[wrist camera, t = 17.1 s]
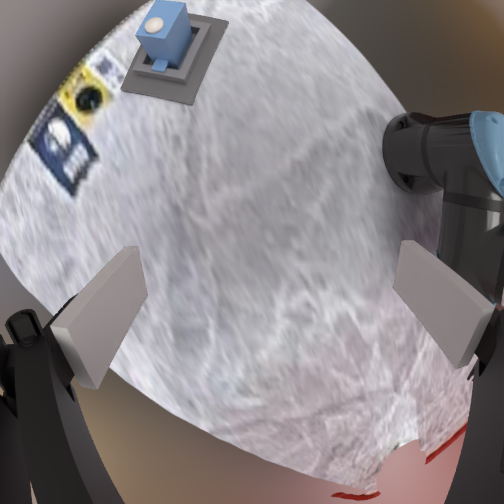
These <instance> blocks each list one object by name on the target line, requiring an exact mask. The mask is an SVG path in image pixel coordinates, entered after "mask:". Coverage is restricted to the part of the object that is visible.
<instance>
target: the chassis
mask: <svg viewBox="0 0 504 504" xmlns="http://www.w3.org/2000/svg"><path fill="white" fill-rule="evenodd" d="M188 17H189V20H190V27H191V31H192V36H193V40H192V42H191V44H190V46H189V48H188V50H187V52H186V54H185V57H184V59H183V61H182V63H181V65H180V67H179V70H178V69H173V68H168V67H167V69H166V71H165V73H163V72H158V71H152V70H151V69H152V66H153V64H154V63H153V62H152V60H151V59H150V57H149V56H148V54H147V52H146V51H145V49H144V48H143V46H142V45H140V47H139V49H138V51H137V53H136V55H135V57H134V59H133V62H132V64H131V66H130V68H129V70H128V72H127V75H126V77H125V79H124V82H123V84H122V86H121V90H122V91H127V92H133V93H138V94H143V95H149V96H153V97H158V98H163V99H167V100H172V101H176V102H180V103H184V104H188V105H192V104H193V102H194V99H195V97H196V94H197V92H198V89H199V87H200V84H201V82H202V80H203V77H204V75H205V73H206V70H207V68H208V66H209V64H210V61H211V59H212V57H213V55H214V53H215V51H216V49H217V46H218V44H219V42H220V40H221V38H222V36H223V34H224V32H225V30H226V28H227V26H228V24H229V21H225V20H221V19H216V18H212V17H207V16H201V15H196V14H190V13H188Z"/></svg>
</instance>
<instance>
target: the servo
mask: <svg viewBox="0 0 504 504" xmlns="http://www.w3.org/2000/svg"><path fill="white" fill-rule="evenodd" d="M135 36H136V37H137V39H138V40H139V42H140V43H141V45H142V46H143V48H144V49H145V51H146V52H147V54H148V56H149V57H150V59H151V60H152V62H153V63H154V64H153V66H152V69H151V70H152V71H158V72H163V73H165V71H166V69H167V67H168V68H173V69H178V70H179V67H180V65H181V63H182V61H183V59H184V57H185V54H186V52H187V50H188V48H189V46H190V44H191V42H192V40H193V36H192V31H191V27H190V20H189V17H188V12H187V8H186V3H182V2H174V1H165V0H156V1H155V3H154V4H153V6H152V7H151V9H150V11H149V12H148V14H147V15H146V17H145V19H144V21H143V22H142V24H141V26H140V27H139V29H138V31H137V33H136V35H135Z"/></svg>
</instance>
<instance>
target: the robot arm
mask: <svg viewBox="0 0 504 504" xmlns="http://www.w3.org/2000/svg"><path fill="white" fill-rule="evenodd" d="M383 155H384V160H385V164H386V167H387V169H388V172H389V174H390V176H391V177H392V179H393V180H394V181H395V183H396V184H397V185H398V186H399V187H400V188H402V189H403V190H405V191H407V192H409V193H413V194H418V195H427V194H431V193H434V192H437V191H440V190H442V189H444V195H443V208H442V219H441V227H440V235H439V242H438V249H437V251H436V257H435V256H434V255H433V254H431V253H430V252H429V251H427V250H426V249H425V248H423V247H422V246H421V245H419V244H418V243H417V242H415V241H414V240H401V246H400V252H399V258H398V263H397V268H396V273H395V278H394V283H393V287H392V288H393V289H394V290H395V291H396V292H397V294H398V295H399V296H400V297H401V298H402V300H403V301H404V302H405V303H406V304H407V306H408V307H409V308H410V309H411V311H412V312H413V313H414V314H415V316H416V317H417V318H418V319H419V321H420V322H421V323H422V325H423V326H424V327H425V328H426V330H427V331H428V332H429V334H430V335H431V336H432V338H433V339H434V340H435V342H436V343H437V344H438V346H439V347H440V348H441V350H442V351H443V352H444V354H445V355H446V357H447V358H448V359H449V361H450V362H451V364H452V365H453V367H454V368H455V369H458V368H461V367H464V366H467V365H468V364H469V363H470V361H471V359H472V357H473V355H474V353H475V354H476V355H477V357H478V360H477V361H476V363H475V365H474V367H473V369H472V370H471V372H470V374H469V376H468V378H467V380H469V379H470V378H471V376H472V375H474V378H473V380H472V381H473V390H472V398H471V405H470V412H469V418H468V423H467V428H466V434H465V438H464V442H463V447H462V450H461V455H460V458H459V462H458V465H457V469H456V472H455V475H454V478H453V481H452V484H451V487H450V490H449V492H448V495H447V498H446V500H445V503H444V504H504V309H502V310H501V311H499V310H498V309H496V308H495V305H496V304H499V305H501V306H504V115H502V114H501V113H498V112H482V111H474V112H471V113H464V114H457V115H451V116H445V117H438V118H436V117H432V116H429V115H425V114H422V113H418V112H410V113H405V114H401V115H399V116H397V117H395V118H394V119H393V120H392V121H391V122H390V123H389V125H388V127H387V129H386V131H385V135H384V139H383ZM147 296H148V293H147V288H146V284H145V279H144V274H143V269H142V264H141V258H140V253H139V247H138V246H132V247H124V248H123V249H122V250H121V251H120V252H119V253H118V254H117V255H116V256H115V257H114V258H113V259H112V260H111V261H110V262H109V263H108V264H107V265H106V266H105V267H104V268H103V269H102V270H101V271H100V272H99V273H98V274H97V275H96V276H95V277H94V278H93V279H92V280H91V281H90V282H89V283H88V284H87V285H86V286H85V287H84V288H83V289H82V290H81V292H80V293H78V294H77V295H75V296H73V297H72V298H70V299H69V300H68V301H67V302H66V303H65V304H64V305H63V308H61V309H60V310H59V311H58V313H56V314H55V315H54V317H53V318H52V319H51V320H50V321H49V322H48V324H47V325H46V326H45V327H44V328H43V329H42V327H41V324H40V322H39V320H38V318H37V315H36V313H35V311H34V310H32V309H25V310H21V311H19V312H17V313H15V314H13V315H12V316H10V317H9V319H8V320H7V321H6V324H5V327H6V329H7V331H8V332H9V335H10V337H11V339H12V340H13V343H14V344H8V345H6V343H5V341H4V339H3V337H2V335H1V334H0V387H1V388H2V389H3V391H4V392H3V396H1V395H0V504H32V497H31V486H30V481H31V484H32V488H33V491H34V494H35V497H36V500H37V503H38V504H125V503H124V501H123V500H122V498H121V496H120V495H119V493H118V491H117V489H116V487H115V486H114V484H113V482H112V480H111V478H110V476H109V474H108V472H107V470H106V469H105V467H104V464H103V462H102V460H101V458H100V456H99V454H98V451H97V449H96V447H95V445H94V443H93V440H92V438H91V435H90V433H89V430H88V428H87V425H86V422H85V420H84V417H83V414H82V411H81V408H80V406H79V403H78V399H77V397H76V393H75V390H74V388H73V386H72V384H71V383H70V382H71V380H72V378H73V377H74V375H75V377H76V379H77V380H78V382H79V384H80V386H82V387H86V388H90V389H95V390H98V388H99V386H100V384H101V381H102V379H103V378H104V375H105V374H106V372H107V370H108V368H109V366H110V364H111V362H112V360H113V358H114V356H115V354H116V352H117V350H118V348H119V347H120V345H121V343H122V341H123V339H124V337H125V335H126V334H127V332H128V330H129V328H130V326H131V324H132V323H133V321H134V319H135V317H136V316H137V314H138V312H139V310H140V309H141V307H142V305H143V303H144V302H145V300H146V298H147Z"/></svg>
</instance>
